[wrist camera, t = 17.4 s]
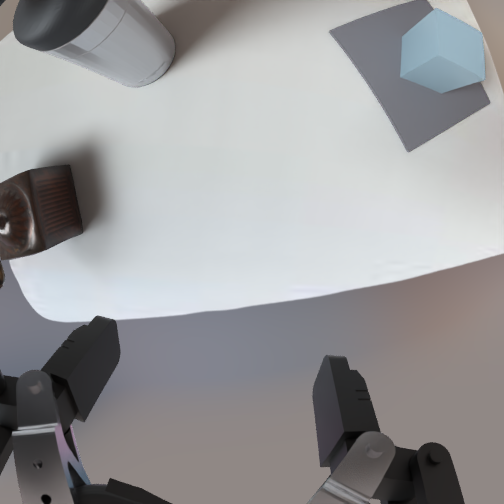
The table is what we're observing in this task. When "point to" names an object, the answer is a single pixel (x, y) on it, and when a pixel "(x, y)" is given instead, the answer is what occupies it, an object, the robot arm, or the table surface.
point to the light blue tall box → (442, 53)
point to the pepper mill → (37, 212)
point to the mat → (399, 89)
